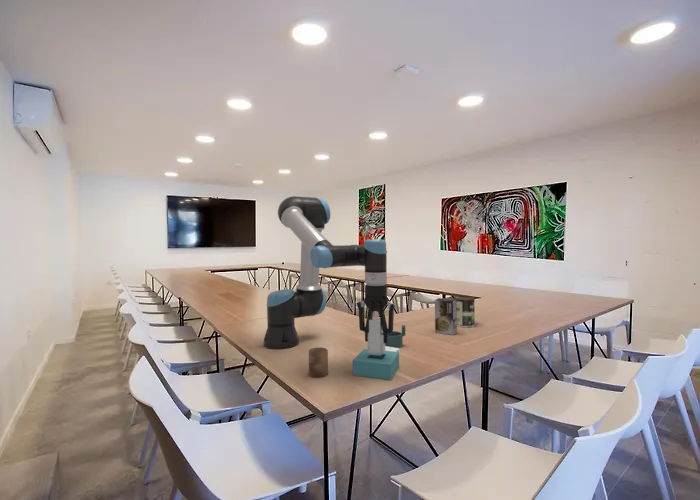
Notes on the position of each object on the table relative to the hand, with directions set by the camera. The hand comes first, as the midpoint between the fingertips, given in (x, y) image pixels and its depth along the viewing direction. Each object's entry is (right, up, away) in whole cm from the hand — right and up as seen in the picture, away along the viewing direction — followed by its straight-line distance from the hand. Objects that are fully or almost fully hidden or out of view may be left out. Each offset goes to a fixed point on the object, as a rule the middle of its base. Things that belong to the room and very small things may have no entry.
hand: (376, 351), depth 119 cm
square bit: (0, -1, 0) cm, 1 cm away
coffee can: (+51, -4, +62) cm, 80 cm away
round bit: (-20, -7, -2) cm, 21 cm away
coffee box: (+37, -5, +47) cm, 60 cm away
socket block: (0, -7, 0) cm, 7 cm away
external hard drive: (+4, -7, +18) cm, 20 cm away
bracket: (+9, -6, +29) cm, 31 cm away
